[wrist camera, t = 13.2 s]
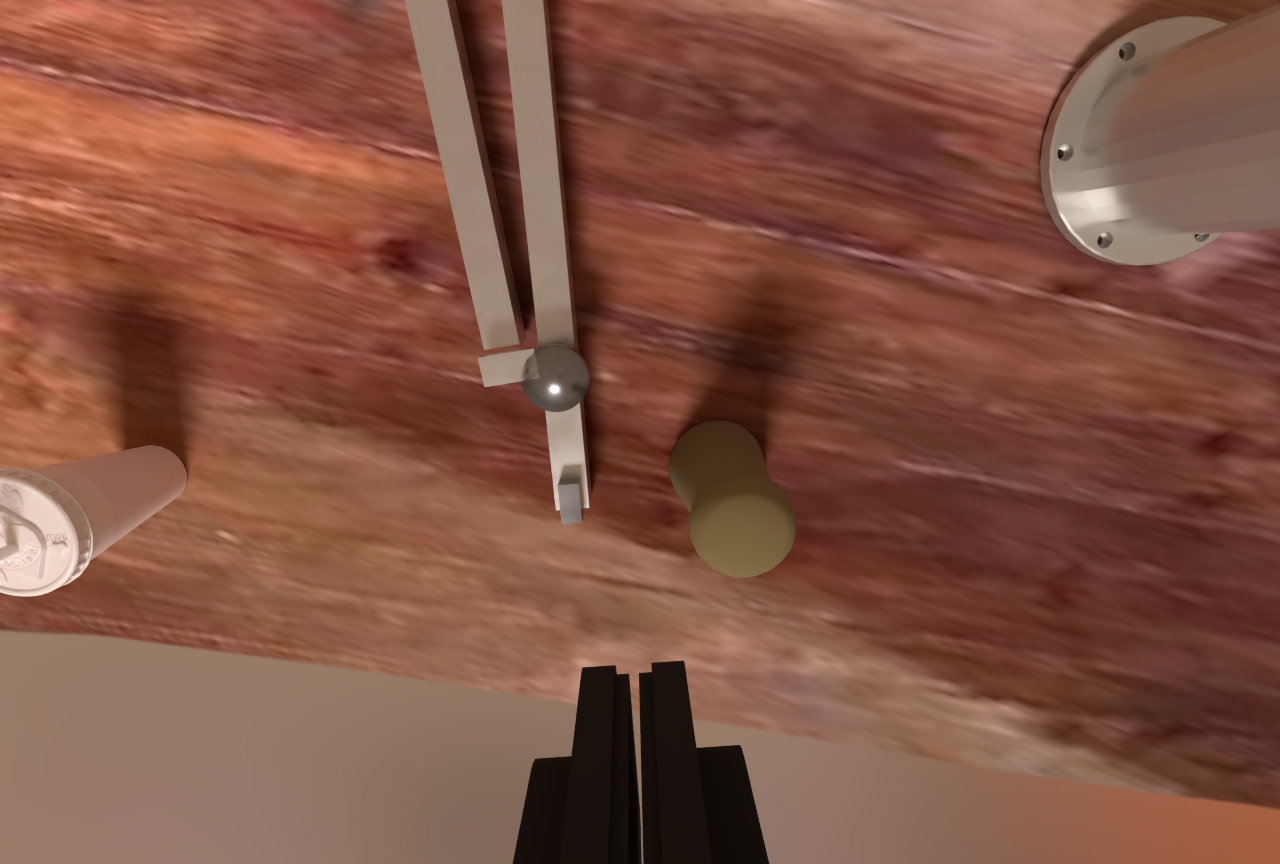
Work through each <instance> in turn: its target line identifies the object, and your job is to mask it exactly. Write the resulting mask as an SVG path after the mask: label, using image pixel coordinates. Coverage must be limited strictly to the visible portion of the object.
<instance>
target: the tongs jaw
mask: <svg viewBox="0 0 1280 864" xmlns="http://www.w3.org/2000/svg"><path fill="white" fill-rule="evenodd" d="M405 3H406V8H407V12H408V16H409V21H410V25H411V30H412V34H413V39H414V43H415V47H416V52H417V56H418V61H419V65H420V69H421V74H422V78H423V83H424V87H425V91H426V96H427V100H428V105H429V109H430V114H431V118H432V122H433V127H434V131H435V136H436V140H437V144H438V149H439V153H440V158H441V162H442V166H443V171H444V175H445V180H446V184H447V189H448V193H449V197H450V202H451V206H452V211H453V215H454V219H455V224H456V228H457V233H458V237H459V241H460V246H461V250H462V255H463V259H464V264H465V268H466V272H467V277H468V281H469V286H470V290H471V294H472V299H473V303H474V308H475V312H476V316H477V321H478V325H479V330H480V334H481V339H482V343H483V347H484V350H487V349H493V348H499V347H505V346H511V345H517V344H520V343H522V342H523V341H525V340H526V334H525V330H524V325H523V320H522V315H521V310H520V306H519V301H518V296H517V291H516V287H515V282H514V277H513V272H512V267H511V263H510V258H509V253H508V248H507V243H506V239H505V234H504V229H503V224H502V219H501V215H500V210H499V205H498V200H497V195H496V191H495V186H494V181H493V176H492V171H491V167H490V162H489V157H488V152H487V147H486V143H485V138H484V133H483V128H482V123H481V119H480V114H479V109H478V104H477V99H476V95H475V90H474V85H473V80H472V75H471V71H470V66H469V61H468V56H467V52H466V47H465V42H464V37H463V32H462V28H461V23H460V18H459V13H458V8H457V4H456V0H405ZM478 361H479V366H480V370H481V374H482V379H483V383H484V387H489V386H495V385H501V384H507V383H513V382H519V381H522V386H523V390H524V392H525V394H526V396H527V397H528V399H529V400H530V401H531V402H532V403H533V404H534V405H536V406H537V407H539V408H541V409H543V410H546V411H549V412H563V411H567V410H569V409H571V408H573V407H575V406H576V405H578V404H579V403H580V402H581V400H582V399H583V398H584V396H585V394H586V392H587V390H588V386H589V382H590V373H589V368H588V365H587V363H586V361H585V359H584V358H583V357H582V355H581V354H580V353H579V352H577V351H576V350H575V349H573V348H571V347H569V346H566V345H563V344H549V345H545V346H543V347H541V348H539V349H537V350H536V347H530V348H524V349H518V350H512V351H506V352H500V353H494V354H488V355H482V356H480V357H478Z"/></svg>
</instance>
